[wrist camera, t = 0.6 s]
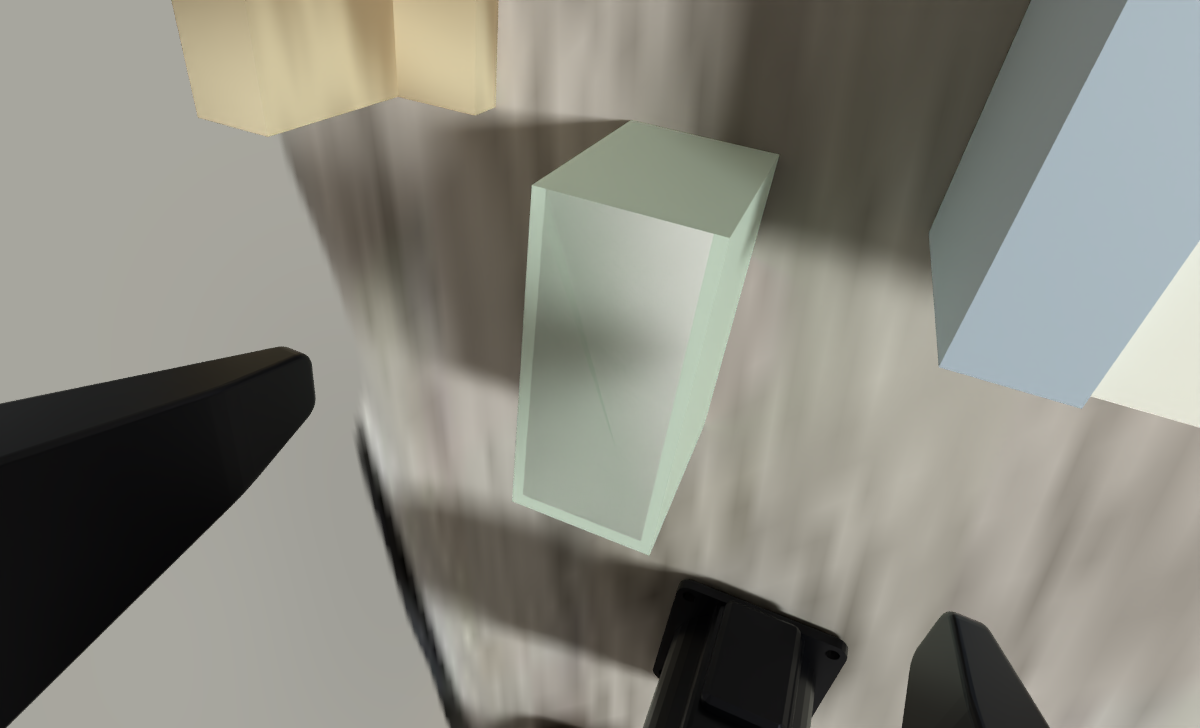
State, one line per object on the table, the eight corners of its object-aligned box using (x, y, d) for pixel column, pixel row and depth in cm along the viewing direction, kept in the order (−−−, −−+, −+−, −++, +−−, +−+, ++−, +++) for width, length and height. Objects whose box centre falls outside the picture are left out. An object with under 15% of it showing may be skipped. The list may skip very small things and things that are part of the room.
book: (704, 423, 22) (649, 555, 17) (593, 385, 23) (512, 500, 18) (780, 153, 17) (729, 237, 12) (632, 119, 18) (531, 185, 13)
